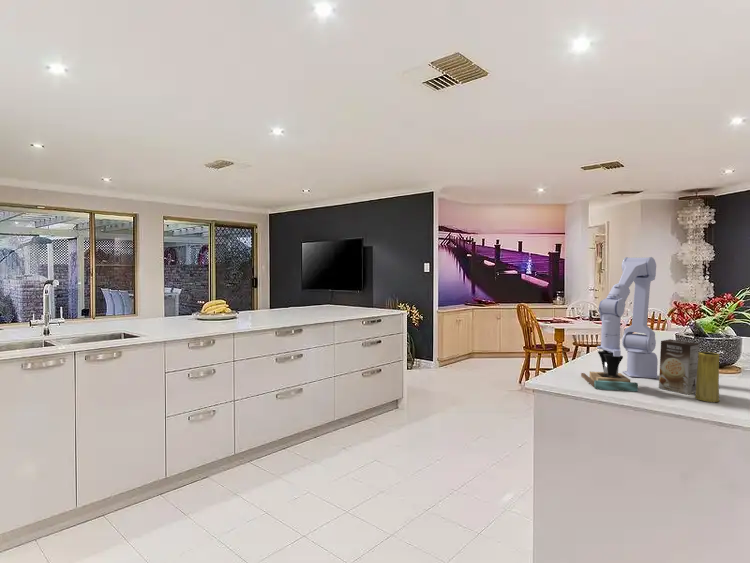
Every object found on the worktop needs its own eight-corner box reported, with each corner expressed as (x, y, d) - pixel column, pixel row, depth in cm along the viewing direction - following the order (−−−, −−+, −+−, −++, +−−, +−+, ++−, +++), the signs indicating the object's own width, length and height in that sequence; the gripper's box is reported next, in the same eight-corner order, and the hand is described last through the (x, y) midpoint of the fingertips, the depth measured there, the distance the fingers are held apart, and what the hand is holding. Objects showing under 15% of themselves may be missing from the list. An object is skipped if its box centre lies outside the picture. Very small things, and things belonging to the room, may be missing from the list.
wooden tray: (619, 381, 161) (620, 373, 161) (630, 388, 152) (630, 379, 152) (589, 379, 163) (589, 371, 163) (597, 387, 153) (597, 378, 153)
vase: (723, 403, 137) (725, 355, 136) (700, 401, 138) (702, 354, 138) (713, 397, 143) (714, 351, 142) (691, 396, 144) (692, 350, 144)
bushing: (613, 378, 159) (614, 361, 159) (620, 381, 155) (621, 363, 155) (600, 378, 159) (601, 360, 159) (607, 381, 155) (608, 363, 155)
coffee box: (657, 388, 153) (659, 340, 153) (667, 385, 157) (668, 339, 156) (688, 395, 145) (689, 344, 145) (697, 392, 149) (699, 343, 148)
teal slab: (618, 378, 167) (618, 371, 167) (637, 391, 149) (637, 383, 149) (581, 376, 169) (581, 369, 169) (595, 388, 151) (595, 381, 151)
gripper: (592, 330, 165) (591, 368, 165) (604, 336, 150) (603, 378, 151) (613, 331, 163) (612, 369, 164) (627, 337, 149) (626, 379, 150)
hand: (609, 373), depth 157 cm, fingers closed on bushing, 4 cm apart
